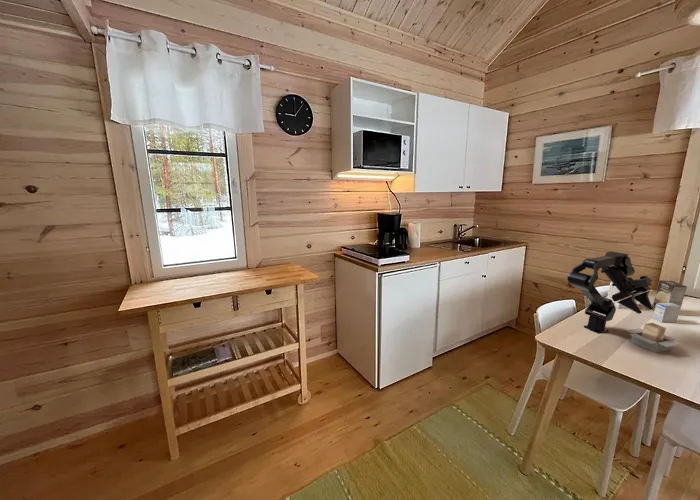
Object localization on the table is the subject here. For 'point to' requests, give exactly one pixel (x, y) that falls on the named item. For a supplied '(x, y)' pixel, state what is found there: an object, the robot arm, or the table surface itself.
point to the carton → (650, 344)
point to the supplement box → (613, 291)
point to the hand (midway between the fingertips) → (646, 311)
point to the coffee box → (669, 293)
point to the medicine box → (666, 312)
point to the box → (654, 332)
